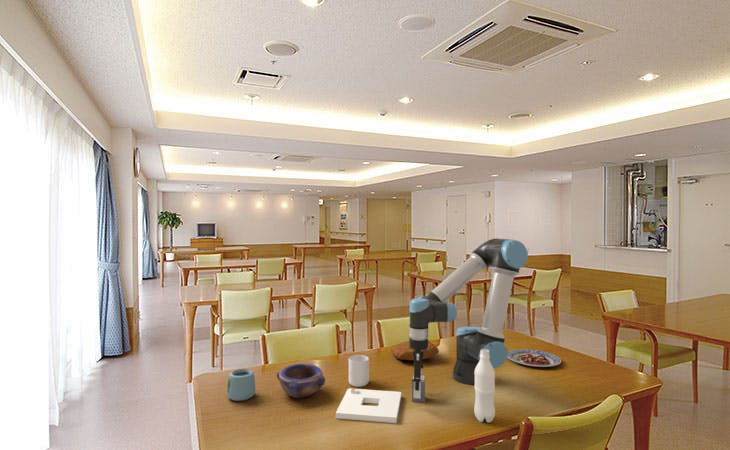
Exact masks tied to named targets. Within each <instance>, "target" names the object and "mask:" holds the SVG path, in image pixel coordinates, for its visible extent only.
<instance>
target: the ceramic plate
mask: <svg viewBox="0 0 730 450" xmlns="http://www.w3.org/2000/svg"><path fill="white" fill-rule="evenodd" d="M507 359H509V360H510V361H513V362H515V363H517V364H521V365H525V366H529V367H536V368H537V367H538V368H545V367H546V368H547V367H548V368H549V367H555V366H558V365H560V364H561V363H562V359H561V358H560V357H559V356H557V355H555V354H552V353H550V352H547V351H544V350H543V351H542V350H537V349H512V350H510V351H508V356H507Z"/></svg>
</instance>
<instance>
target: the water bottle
mask: <svg viewBox="0 0 730 450" xmlns="http://www.w3.org/2000/svg"><path fill="white" fill-rule="evenodd" d="M480 353H481V354H480V361H479V363H478V364H477V366H476V368H475V372H474V374H475V384H474V393H475V401H474V407H473V409H474V411H473V412H474V413H473V414H474V416H475V417H476V420H478V422H480V423H483V422H484V420H485V421H486V423H489V424H490V423H492V421H493V420H494V419H495V417H496V410H495V408H496V407H495V402H494V401H495V399H494V398H495V391H496V387H495V386H496V384H495V383H496V372H495V368H493V367H492V365H491V363H490V360H489V358H490V355H489V350H487V349H481V350H480Z"/></svg>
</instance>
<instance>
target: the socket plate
mask: <svg viewBox="0 0 730 450" xmlns="http://www.w3.org/2000/svg"><path fill="white" fill-rule="evenodd" d="M401 401H402V392H401V391H393V390H381V389H380V390H379V389H378V390H375V389H363V388H347V389H346V392H345V394H344V395H343V398H342V399H341V401H340V403H339V405H338V407H337V410H336V411H335V419H340V420H341V419H342V420H352V421H353V420H354V421H366V422H375V423H376V422H377V423H386V424H387V423H389V424H390V423H391V424H397V423H398V417H399V412H400V406H401ZM364 403H365V404H378V405H365V404H364Z"/></svg>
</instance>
